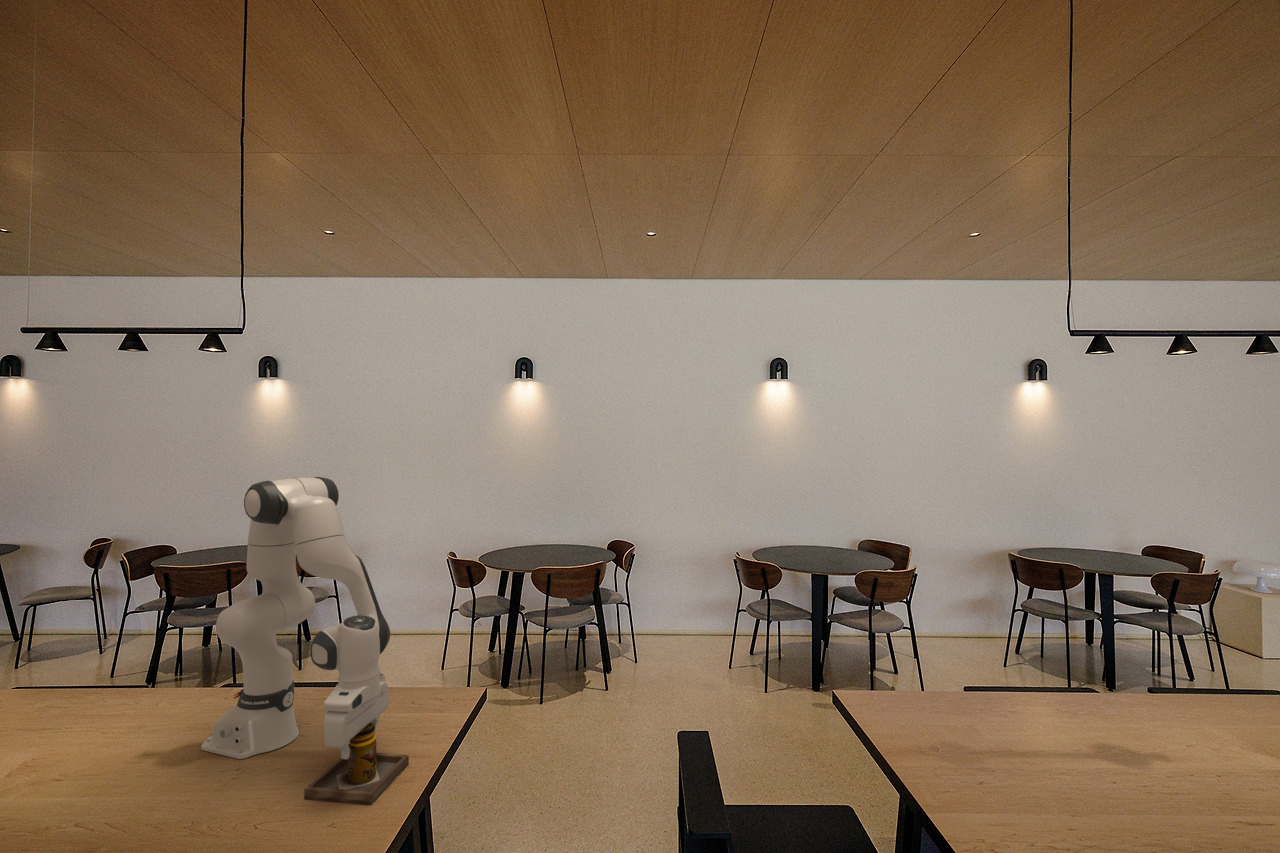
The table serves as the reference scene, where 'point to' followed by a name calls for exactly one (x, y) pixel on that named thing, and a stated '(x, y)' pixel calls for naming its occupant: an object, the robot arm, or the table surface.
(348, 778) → the condiment
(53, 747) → the table surface
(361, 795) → the square wooden tray
